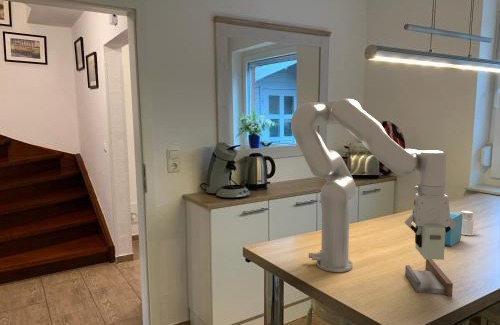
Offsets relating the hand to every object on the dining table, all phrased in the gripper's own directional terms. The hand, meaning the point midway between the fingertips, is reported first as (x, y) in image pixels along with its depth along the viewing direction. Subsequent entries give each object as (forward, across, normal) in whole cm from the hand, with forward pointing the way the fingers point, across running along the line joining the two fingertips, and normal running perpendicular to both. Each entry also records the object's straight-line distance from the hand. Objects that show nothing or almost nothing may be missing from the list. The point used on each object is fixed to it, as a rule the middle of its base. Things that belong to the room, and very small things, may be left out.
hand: (429, 245), depth 121 cm
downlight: (+13, +32, +54) cm, 65 cm away
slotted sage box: (+3, 0, 0) cm, 3 cm away
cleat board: (+13, 0, +2) cm, 13 cm away
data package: (+13, +21, +41) cm, 48 cm away
